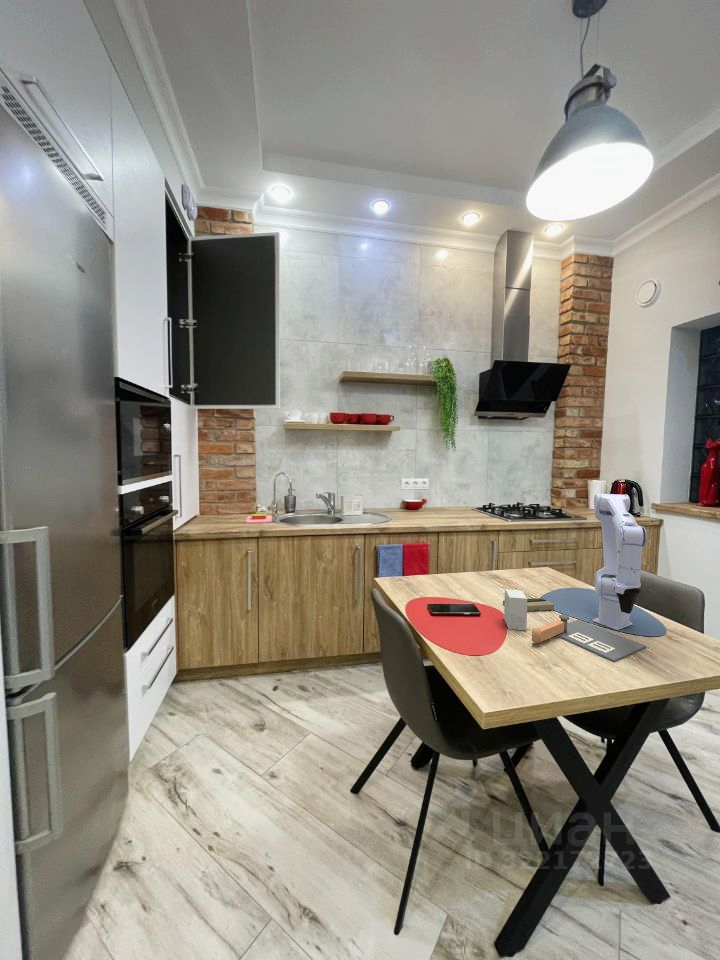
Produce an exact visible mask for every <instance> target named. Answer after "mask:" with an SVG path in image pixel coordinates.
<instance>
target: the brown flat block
mask: <svg viewBox="0 0 720 960" xmlns="http://www.w3.org/2000/svg"><path fill="white" fill-rule="evenodd" d="M527 599H528V600H527V613H537V612H538V613H539V612H549V611H552V612H554V611H555V604H554V603H553V602H551V601H549V600H547V599H544V598H542V597H541V598H527ZM504 604H505V599H504V600H503V601H502V606H504Z"/></svg>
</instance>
